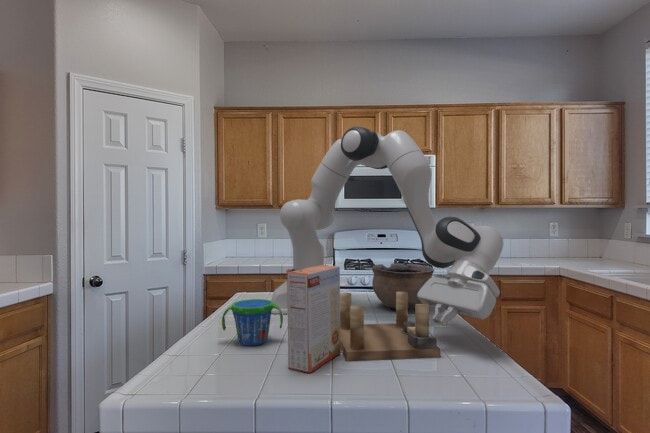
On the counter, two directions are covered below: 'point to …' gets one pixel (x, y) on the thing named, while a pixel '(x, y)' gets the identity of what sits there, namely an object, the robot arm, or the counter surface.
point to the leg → (419, 321)
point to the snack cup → (252, 320)
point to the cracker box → (313, 317)
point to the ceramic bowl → (400, 282)
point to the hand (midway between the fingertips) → (438, 322)
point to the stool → (381, 335)
